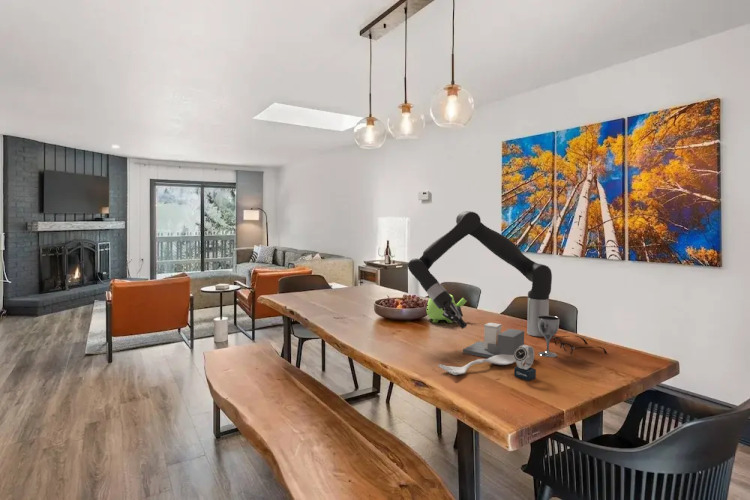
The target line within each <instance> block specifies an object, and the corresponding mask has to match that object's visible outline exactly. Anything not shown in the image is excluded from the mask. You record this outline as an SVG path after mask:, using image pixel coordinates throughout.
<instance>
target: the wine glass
mask: <svg viewBox="0 0 750 500" xmlns="http://www.w3.org/2000/svg"><path fill="white" fill-rule="evenodd" d="M559 326H560V317H559V316H554V315H549V316H548V315H542V316H538V327H539V331H540V332H541V334H542V335H543V337H544V339H545V343H546V350H545V351H539V352H538V353H537V354H538V355H539V356H541V357H543V358H557V357H558V354H557V353H556V352H552V351H550V341H551V340H552V338H553V337H555V335H556V334H557V333H558V331H559Z"/></svg>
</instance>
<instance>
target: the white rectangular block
mask: <svg viewBox="0 0 750 500" xmlns="http://www.w3.org/2000/svg"><path fill="white" fill-rule="evenodd" d="M502 326H503V325H502V324H501V323H495V322H487V323H485V324H484V325H483V327H484V329H483V333H484V335H483V340H484V341H483V342H484V349H488V344H489V343H490V344H495V345H498V334H500V333H502Z"/></svg>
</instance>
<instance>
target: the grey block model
mask: <svg viewBox="0 0 750 500" xmlns="http://www.w3.org/2000/svg"><path fill="white" fill-rule="evenodd" d="M522 345H525V330H521V329H517V328H507V329H505V330H504V331H501V333H500V334H498V345H495V344H490V343H489V344H488V349H484V341H481V340H478V341H476V342H474V343H472V344H471V345H469V346H466V347H465V348H463V349H462V353H463V354H465V355H469V356H470V355H472V356H475V357H481V358H484V359H488V358H490V357H492V356H495V355H500V354H506V355H514V351H515V350H516V349H517V348H518V347H520V346H522Z"/></svg>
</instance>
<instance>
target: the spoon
mask: <svg viewBox="0 0 750 500" xmlns="http://www.w3.org/2000/svg"><path fill="white" fill-rule="evenodd" d="M484 363H490V364H492V365H496V366H507V365H511V364H514V363H516V362H515V358H514V355H506V354H500V355H495V356H492V357H490V358H481V359H479V358H477V359H476V360H473V361H470V362H469V363H466V364H465V365H464V366H450V365H449V366H448V365H445V364H438V368H441V369H442V370H443V371H445V372H447V373H449V374H452V375H453V376H458V375H464V374H466V372H467V371H468V369H469V368H470V367H471V366H473V365H476V364H484Z"/></svg>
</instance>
